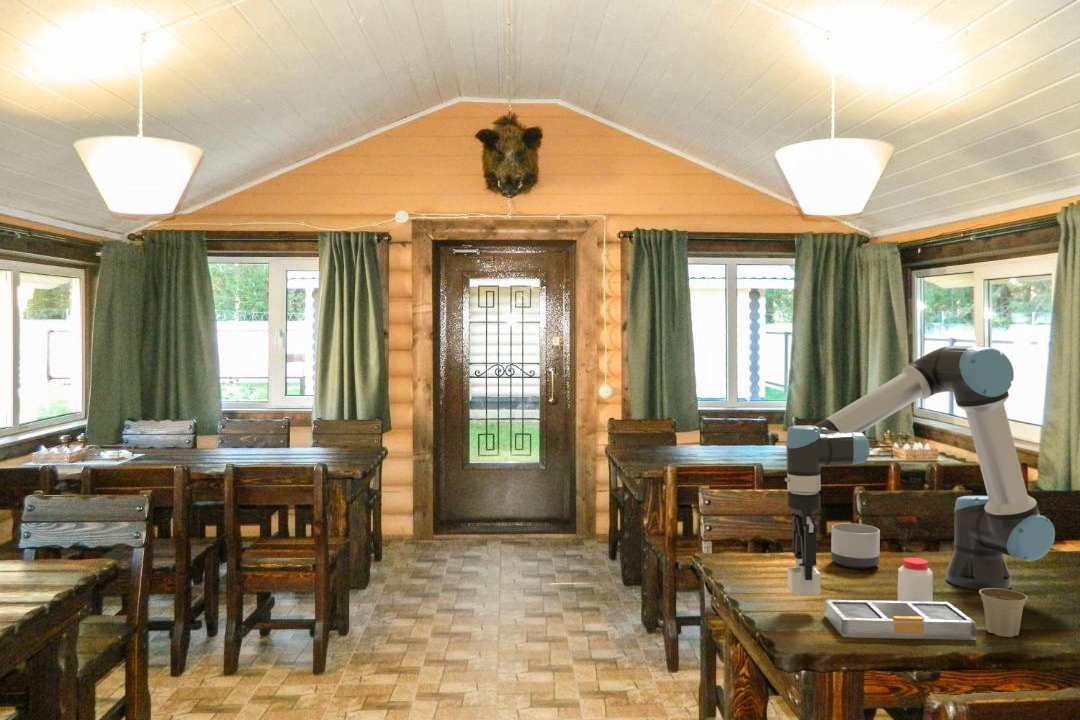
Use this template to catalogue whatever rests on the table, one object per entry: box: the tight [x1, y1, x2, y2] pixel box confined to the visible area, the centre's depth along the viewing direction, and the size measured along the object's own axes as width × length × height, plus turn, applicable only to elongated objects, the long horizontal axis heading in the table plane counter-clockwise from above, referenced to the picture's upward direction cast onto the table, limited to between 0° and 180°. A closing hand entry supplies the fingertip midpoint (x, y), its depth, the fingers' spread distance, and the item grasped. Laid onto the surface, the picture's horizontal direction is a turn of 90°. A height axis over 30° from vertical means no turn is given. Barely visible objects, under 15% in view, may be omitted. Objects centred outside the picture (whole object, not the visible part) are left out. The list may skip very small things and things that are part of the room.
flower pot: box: [978, 588, 1028, 638], centre depth 187 cm, size 9×9×9 cm
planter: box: [830, 522, 881, 570], centre depth 242 cm, size 13×13×10 cm
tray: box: [824, 599, 977, 641], centre depth 190 cm, size 28×14×4 cm, turn 87°
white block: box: [787, 567, 821, 596], centre depth 201 cm, size 6×4×5 cm
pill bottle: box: [897, 557, 934, 602], centre depth 206 cm, size 8×8×11 cm
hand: (804, 589), depth 201 cm, fingers closed on white block, 4 cm apart
